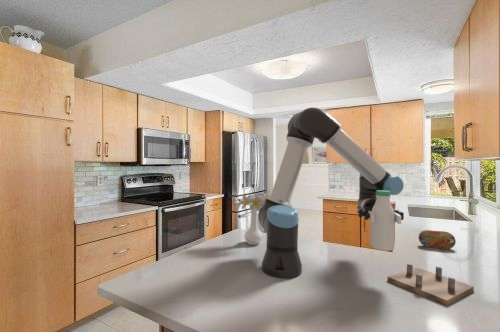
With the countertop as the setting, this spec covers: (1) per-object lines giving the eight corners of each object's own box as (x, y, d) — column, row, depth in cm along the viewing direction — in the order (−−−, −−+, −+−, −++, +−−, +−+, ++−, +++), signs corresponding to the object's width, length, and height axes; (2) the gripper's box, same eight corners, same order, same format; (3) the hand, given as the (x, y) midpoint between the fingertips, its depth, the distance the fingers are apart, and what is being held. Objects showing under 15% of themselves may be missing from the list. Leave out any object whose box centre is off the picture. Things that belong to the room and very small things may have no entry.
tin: (419, 246, 132) (419, 229, 132) (417, 244, 135) (418, 228, 135) (455, 250, 127) (456, 233, 127) (453, 248, 130) (453, 231, 130)
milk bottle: (393, 252, 87) (395, 192, 87) (368, 248, 91) (369, 190, 91) (395, 246, 94) (396, 190, 94) (371, 242, 98) (372, 189, 98)
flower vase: (232, 240, 137) (233, 191, 136) (267, 239, 140) (268, 191, 140) (235, 248, 124) (236, 195, 123) (273, 246, 127) (274, 194, 127)
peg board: (387, 280, 92) (387, 266, 92) (415, 270, 101) (415, 257, 101) (446, 305, 77) (447, 288, 76) (473, 291, 86) (474, 275, 86)
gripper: (399, 218, 108) (420, 232, 85) (346, 215, 112) (353, 228, 90) (399, 200, 107) (421, 209, 85) (346, 197, 112) (353, 206, 90)
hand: (386, 219), depth 88 cm, fingers closed on milk bottle, 7 cm apart
